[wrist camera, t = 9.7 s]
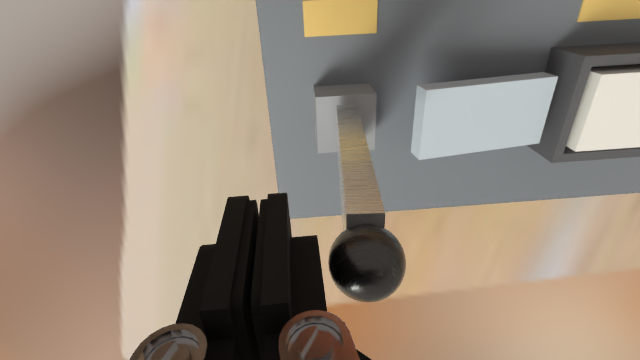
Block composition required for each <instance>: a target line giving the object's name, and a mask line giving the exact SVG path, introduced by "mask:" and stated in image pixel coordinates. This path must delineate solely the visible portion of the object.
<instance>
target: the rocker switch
mask: <svg viewBox="0 0 640 360" xmlns="http://www.w3.org/2000/svg"><path fill="white" fill-rule="evenodd" d="M557 79H558V76H555V75H552V74H549V73H545V72H538V73H528V74H519V75H509V76H499V77H489V78H480V79H470V80H460V81H450V82H441V83H431V84H421V85H417V90H416V101H415V111H414V122H413V133H412V144H411V153H412V154H413V155H414V156H415V157H416V158H417V159H418V160H424V159H431V158H438V157H445V156H452V155H459V154H467V153H474V152H481V151H488V150H495V149H503V148H510V147H517V146H524V145H531V144H539V142H540V139H541V135H542V132H543V128H544V125H545V121H546V118H547V114H548V111H549V107H550V104H551V100H552V97H553V93H554V90H555V86H556V83H557Z"/></svg>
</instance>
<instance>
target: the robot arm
mask: <svg viewBox="0 0 640 360" xmlns="http://www.w3.org/2000/svg"><path fill="white" fill-rule="evenodd" d="M130 360H371V359H370V358H368V357H367V356H365V355H364V354H362V353H361V352H360V351H358V350H357V349H356V348H355V345H354V342H353V340H352V337H351V334H350V331H349V330H348V328H347V326H346V324H345V322H343V321H342V320H341V319H340V318H339V317H338V316H336V315H334V314H332V313H329V312H327V307H326V300H325V292H324V284H323V277H322V269H321V261H320V254H319V246H318V239H317V235H314V236H303V237H292V235H291V225H290V215H289V205H288V195H287V193H275V194H268V199H263V200H261V203H260V212H259V214H258V208H257V202H256V200H249V197H248V196H237V197H228V199H227V203H226V207H225V211H224V215H223V218H222V222H221V226H220V230H219V234H218V238H217V242H216V244H211V245H202V246H201V247H200V249H199V251H198V254H197V257H196V261H195V264H194V267H193V270H192V273H191V276H190V280H189V283H188V286H187V289H186V292H185V295H184V299H183V302H182V305H181V308H180V311H179V315H178V318H177V321H176V324H172V325H169V326H166V327H163V328H161V329H159V330H157V331H156V332H154V333H152V334H151V335H149V336H148V337H147V338H146V339H145V340H144V341H143V342H141V343H140V345H139V346H138V347H137V349H136V350H135V351H134V353H133V354H132V356H131V358H130Z"/></svg>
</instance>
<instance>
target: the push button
mask: <svg viewBox="0 0 640 360" xmlns="http://www.w3.org/2000/svg"><path fill="white" fill-rule="evenodd" d="M566 146H567V147H568V148H570V149H572V150H573V151H575V152H578V151H593V150H607V149H621V148H635V147H640V64H629V65H613V66H596V67H592V68H591V71H590V74H589V77H588V80H587V83H586V86H585V89H584V92H583V95H582V98H581V102H580V105H579V108H578V111H577V114H576V117H575V120H574V123H573V126H572V129H571V132H570V135H569V138H568V141H567V144H566Z"/></svg>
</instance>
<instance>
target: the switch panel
mask: <svg viewBox="0 0 640 360" xmlns="http://www.w3.org/2000/svg"><path fill="white" fill-rule="evenodd" d="M256 7H257V15H258V24H259V32H260V41H261V49H262V58H263V66H264V75H265V83H266V92H267V100H268V109H269V117H270V126H271V134H272V143H273V151H274V160H275V168H276V177H277V185H278V193H287V195H288V205H289V215H290V219H295V218H308V217H322V216H335V215H342V210H341V196H340V182H339V168H338V155H337V115H336V105H351V104H357V105H358V109H359V113H360V117H361V121H362V125H363V129H364V133H365V136H366V140H367V144H368V148H369V152H370V156H371V160H372V164H373V168H374V171H375V175H376V179H377V183H378V187H379V191H380V195H381V199H382V203H383V206H384V210H385V212H388V211H401V210H415V209H428V208H441V207H455V206H468V205H481V204H495V203H508V202H521V201H534V200H548V199H561V198H574V197H588V196H601V195H614V194H628V193H640V147H635V148H621V149H607V150H593V151H578V152H575V151H573V150H572V149H570V148H568V147H567V146H566V144H567V141H568V138H569V135H570V132H571V129H572V126H573V123H574V120H575V117H576V114H577V111H578V108H579V105H580V102H581V98H582V95H583V92H584V89H585V86H586V83H587V80H588V77H589V74H590V71H591V68H592V67H596V66H613V65H629V64H640V0H256ZM538 72H545V73H549V74H552V75H555V76H558V79H557V83H556V86H555V90H554V93H553V97H552V100H551V104H550V107H549V111H548V114H547V118H546V121H545V125H544V128H543V132H542V135H541V139H540V142H539V144H531V145H524V146H517V147H510V148H503V149H495V150H488V151H481V152H474V153H467V154H459V155H452V156H445V157H438V158H431V159H424V160H418V159H417V158H416V157H415V156H414V155H413V154H412V153H411V144H412V133H413V122H414V111H415V101H416V90H417V85H421V84H431V83H441V82H450V81H460V80H470V79H480V78H489V77H499V76H509V75H519V74H528V73H538Z"/></svg>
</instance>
